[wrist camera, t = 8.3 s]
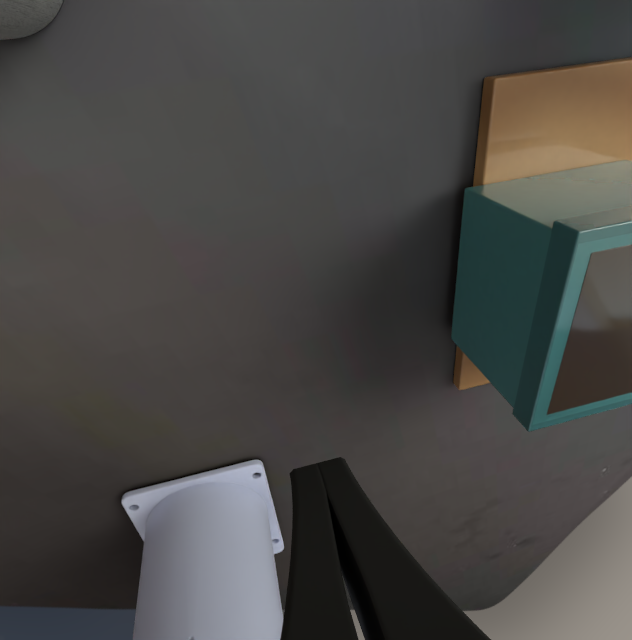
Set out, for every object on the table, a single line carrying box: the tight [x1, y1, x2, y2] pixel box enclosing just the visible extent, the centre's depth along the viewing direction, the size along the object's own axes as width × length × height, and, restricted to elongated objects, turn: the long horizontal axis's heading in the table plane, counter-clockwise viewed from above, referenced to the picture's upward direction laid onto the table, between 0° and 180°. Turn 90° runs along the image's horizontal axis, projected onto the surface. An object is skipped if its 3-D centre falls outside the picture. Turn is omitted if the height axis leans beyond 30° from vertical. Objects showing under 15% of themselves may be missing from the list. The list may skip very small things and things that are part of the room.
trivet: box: [453, 57, 632, 390], centre depth 21 cm, size 16×12×1 cm
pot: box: [451, 160, 632, 432], centre depth 18 cm, size 9×6×8 cm
